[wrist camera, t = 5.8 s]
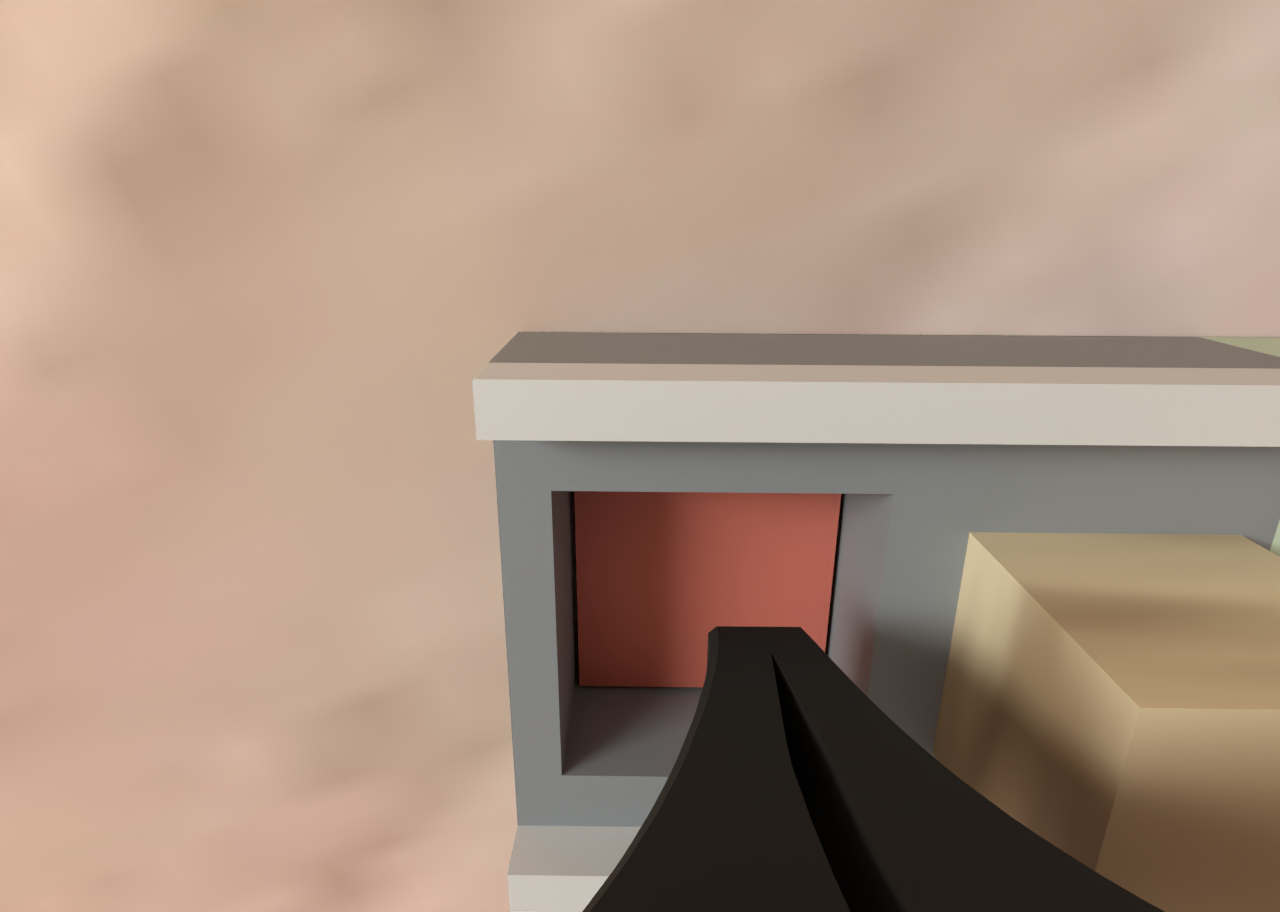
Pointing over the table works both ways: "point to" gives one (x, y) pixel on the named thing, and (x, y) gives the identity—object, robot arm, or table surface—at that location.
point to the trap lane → (809, 521)
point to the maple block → (1126, 706)
